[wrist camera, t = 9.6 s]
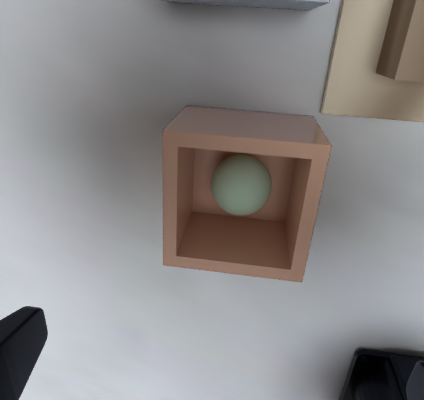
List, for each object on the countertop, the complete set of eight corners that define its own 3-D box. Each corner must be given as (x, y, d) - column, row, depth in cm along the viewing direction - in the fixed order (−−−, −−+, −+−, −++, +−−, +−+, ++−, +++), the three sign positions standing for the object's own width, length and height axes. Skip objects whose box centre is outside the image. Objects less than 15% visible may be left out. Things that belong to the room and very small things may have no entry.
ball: (267, 202, 19) (268, 230, 17) (212, 196, 19) (205, 222, 17) (274, 149, 18) (277, 170, 15) (216, 144, 18) (208, 163, 15)
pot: (292, 226, 20) (302, 282, 16) (183, 214, 21) (163, 265, 16) (313, 116, 18) (331, 145, 13) (186, 105, 18) (162, 130, 14)
